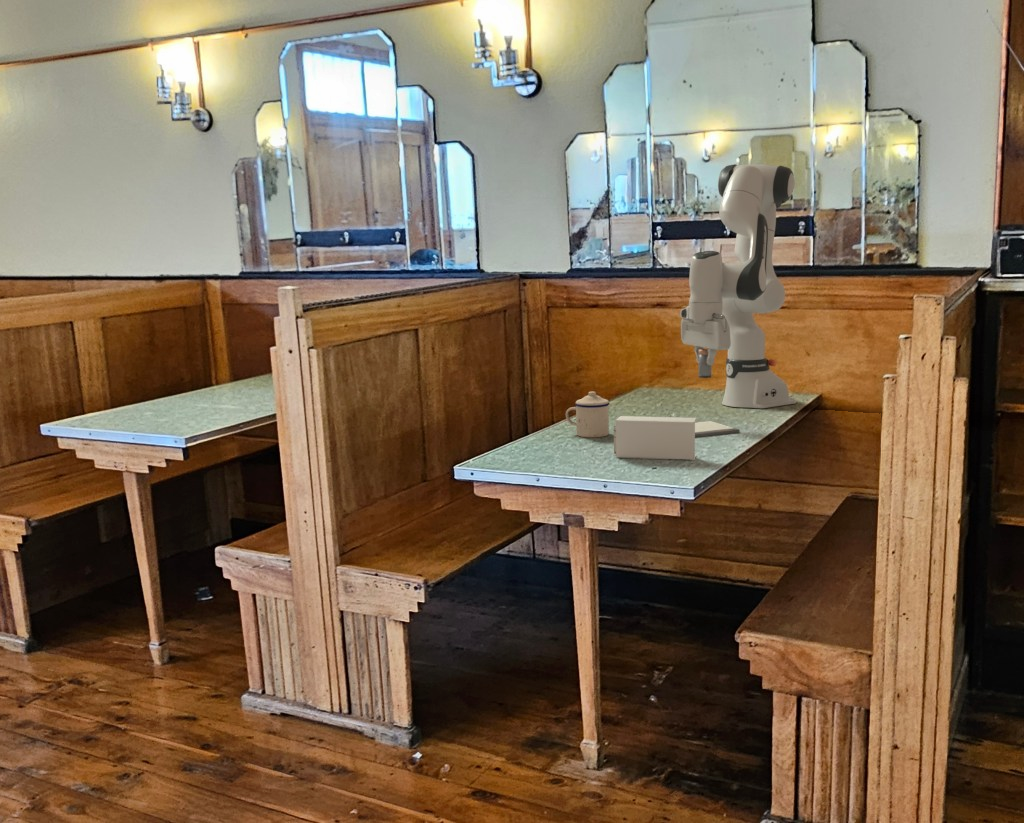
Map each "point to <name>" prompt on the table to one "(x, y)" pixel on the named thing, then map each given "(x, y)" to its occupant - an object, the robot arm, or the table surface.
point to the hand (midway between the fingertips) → (705, 363)
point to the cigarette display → (654, 437)
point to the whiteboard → (713, 429)
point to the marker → (704, 364)
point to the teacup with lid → (591, 416)
